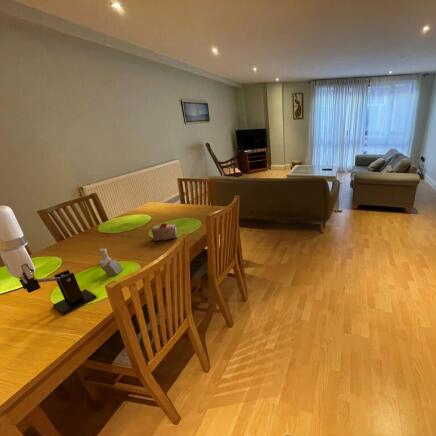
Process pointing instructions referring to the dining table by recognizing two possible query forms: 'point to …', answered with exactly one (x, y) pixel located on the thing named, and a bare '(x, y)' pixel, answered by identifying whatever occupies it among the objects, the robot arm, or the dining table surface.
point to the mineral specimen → (110, 267)
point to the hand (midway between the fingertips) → (32, 288)
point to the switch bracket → (71, 293)
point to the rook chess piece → (104, 254)
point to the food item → (164, 232)
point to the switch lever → (48, 279)
